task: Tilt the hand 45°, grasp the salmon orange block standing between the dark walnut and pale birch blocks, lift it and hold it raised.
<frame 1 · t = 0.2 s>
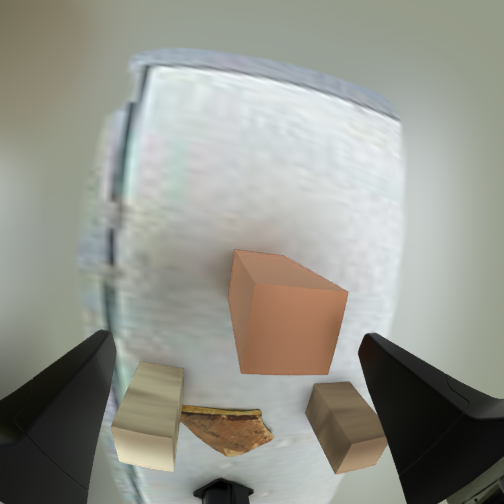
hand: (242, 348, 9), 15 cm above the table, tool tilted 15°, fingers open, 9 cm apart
salmon orange block: (256, 277, 24), on the table
birch block: (161, 382, 24), on the table
walnut block: (327, 398, 27), on the table
shard: (219, 428, 27), on the table
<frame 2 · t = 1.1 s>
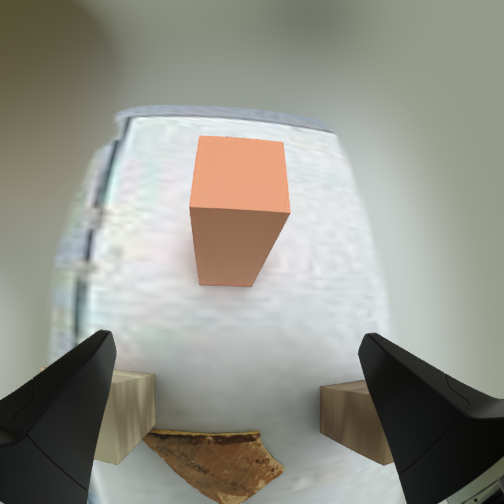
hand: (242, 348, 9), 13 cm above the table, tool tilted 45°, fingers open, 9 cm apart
salmon orange block: (226, 261, 24), on the table
birch block: (129, 396, 18), on the table
walnut block: (343, 406, 20), on the table
shard: (209, 467, 17), on the table
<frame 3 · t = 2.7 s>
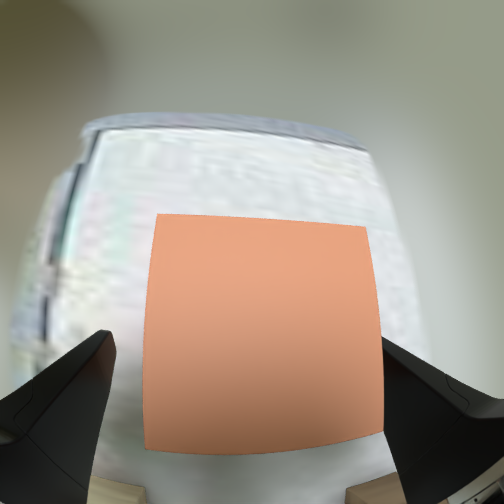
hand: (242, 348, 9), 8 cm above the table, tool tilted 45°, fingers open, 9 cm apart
salmon orange block: (229, 353, 16), on the table
walnut block: (369, 501, 12), on the table
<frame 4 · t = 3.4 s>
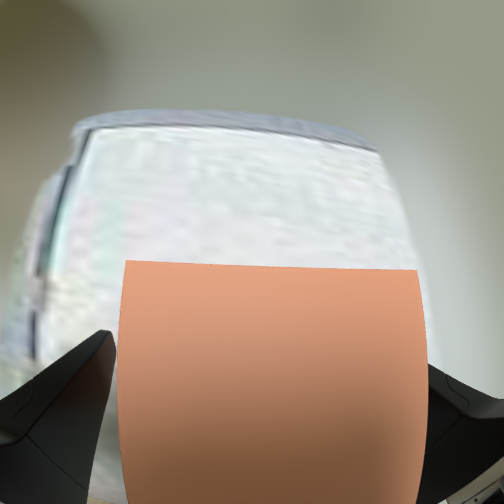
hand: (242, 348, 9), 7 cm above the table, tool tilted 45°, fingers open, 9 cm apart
salmon orange block: (230, 376, 14), on the table
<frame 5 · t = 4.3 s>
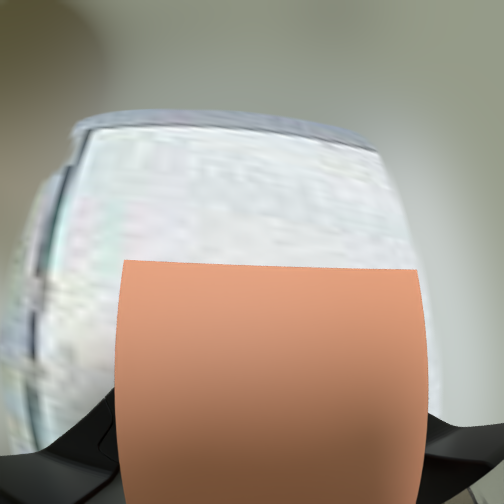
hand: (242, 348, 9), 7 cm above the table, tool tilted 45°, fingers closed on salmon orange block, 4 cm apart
salmon orange block: (230, 376, 14), on the table, touching gripper
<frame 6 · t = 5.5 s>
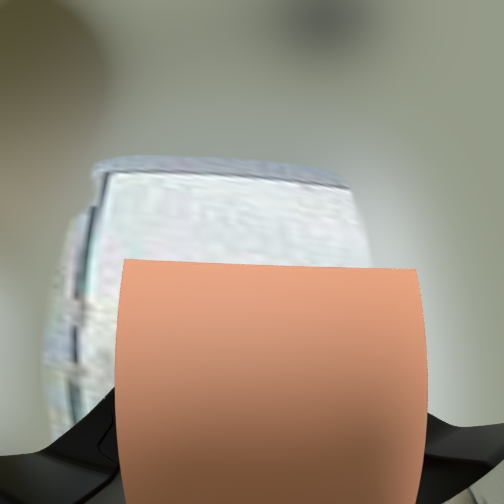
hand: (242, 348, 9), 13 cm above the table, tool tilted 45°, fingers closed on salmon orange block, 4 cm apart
salmon orange block: (230, 376, 14), point 7 cm above the table, touching gripper
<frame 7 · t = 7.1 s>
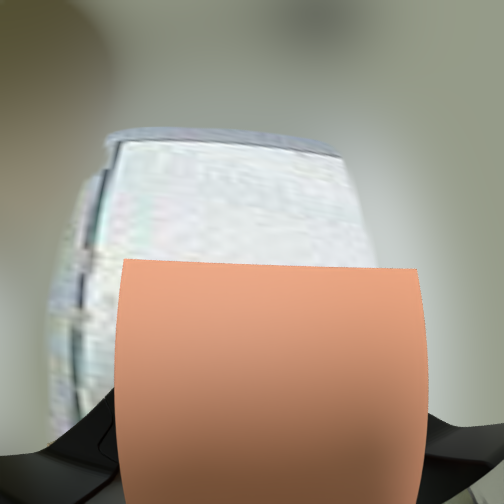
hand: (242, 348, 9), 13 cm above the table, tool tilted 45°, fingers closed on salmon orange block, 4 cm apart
salmon orange block: (230, 376, 14), point 7 cm above the table, touching gripper
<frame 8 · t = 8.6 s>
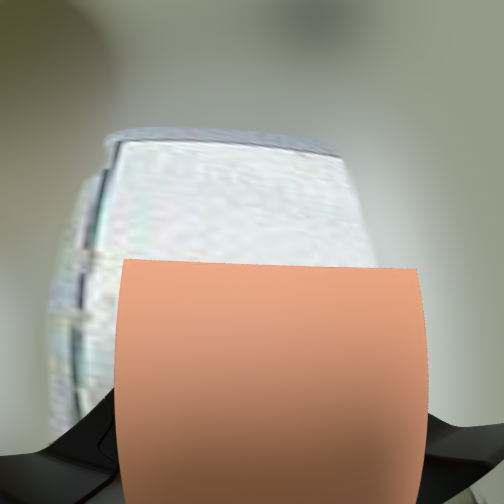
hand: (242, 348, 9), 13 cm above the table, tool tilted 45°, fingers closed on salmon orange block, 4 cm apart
salmon orange block: (230, 376, 14), point 7 cm above the table, touching gripper
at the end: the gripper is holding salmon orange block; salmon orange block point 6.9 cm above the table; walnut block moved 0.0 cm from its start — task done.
